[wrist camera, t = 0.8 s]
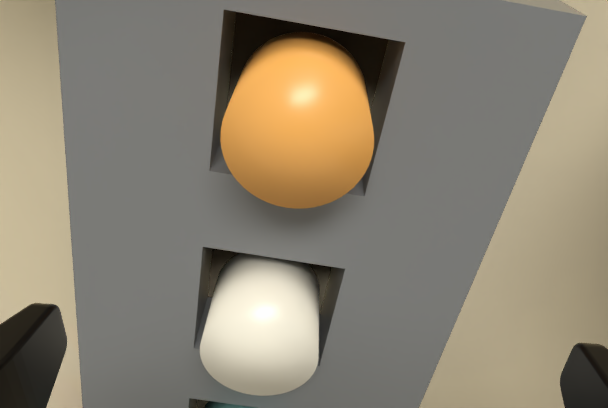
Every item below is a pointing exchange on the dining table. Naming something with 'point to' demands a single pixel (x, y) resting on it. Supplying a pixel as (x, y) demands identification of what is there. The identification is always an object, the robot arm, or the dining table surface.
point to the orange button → (299, 122)
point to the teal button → (224, 405)
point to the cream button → (262, 325)
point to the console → (289, 221)
